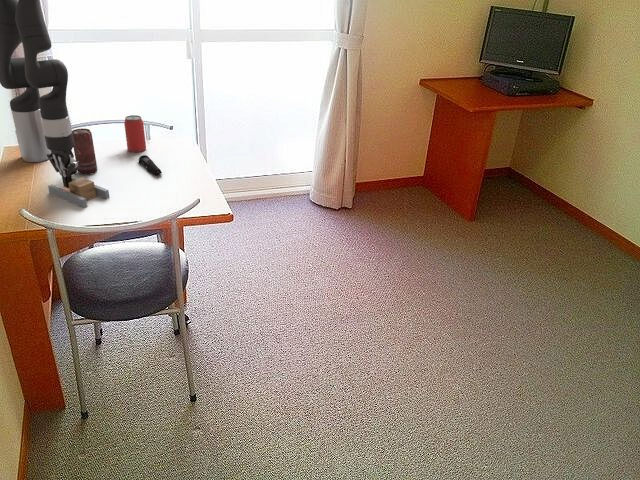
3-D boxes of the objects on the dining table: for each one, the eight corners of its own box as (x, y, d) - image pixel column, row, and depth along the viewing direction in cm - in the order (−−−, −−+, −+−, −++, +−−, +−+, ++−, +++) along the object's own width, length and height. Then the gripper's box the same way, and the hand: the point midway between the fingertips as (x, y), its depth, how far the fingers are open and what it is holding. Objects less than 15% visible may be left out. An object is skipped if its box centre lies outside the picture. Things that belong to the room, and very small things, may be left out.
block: (71, 198, 162) (68, 182, 160) (85, 192, 166) (82, 177, 164) (82, 202, 160) (79, 187, 158) (96, 196, 164) (93, 181, 161)
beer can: (124, 151, 197) (120, 119, 191) (132, 145, 202) (128, 113, 196) (141, 153, 196) (137, 121, 190) (149, 147, 201) (146, 115, 196)
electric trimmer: (153, 179, 178) (152, 170, 177) (137, 162, 189) (136, 154, 187) (164, 177, 180) (164, 168, 179) (148, 161, 191) (147, 152, 189)
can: (91, 176, 176) (84, 135, 169) (74, 173, 177) (66, 132, 170) (102, 169, 181) (95, 129, 175) (84, 167, 182) (77, 126, 175)
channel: (49, 193, 164) (47, 185, 163) (75, 183, 171) (74, 176, 170) (83, 207, 157) (82, 200, 156) (109, 197, 164) (108, 189, 162)
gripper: (32, 130, 157) (44, 185, 165) (60, 140, 151) (71, 196, 159) (55, 124, 162) (65, 177, 171) (83, 133, 156) (93, 188, 165)
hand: (68, 186), depth 165 cm, fingers closed
